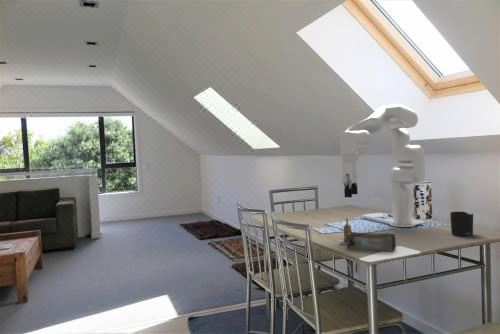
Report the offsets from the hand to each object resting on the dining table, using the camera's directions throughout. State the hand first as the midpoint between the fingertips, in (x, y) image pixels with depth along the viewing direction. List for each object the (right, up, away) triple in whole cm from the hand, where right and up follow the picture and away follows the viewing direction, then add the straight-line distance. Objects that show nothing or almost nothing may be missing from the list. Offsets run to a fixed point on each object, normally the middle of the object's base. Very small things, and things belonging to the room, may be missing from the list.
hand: (351, 195), depth 175 cm
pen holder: (+53, -19, +3) cm, 56 cm away
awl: (-2, -21, 0) cm, 21 cm away
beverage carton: (+5, -22, -13) cm, 26 cm away
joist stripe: (-1, -21, +1) cm, 21 cm away
